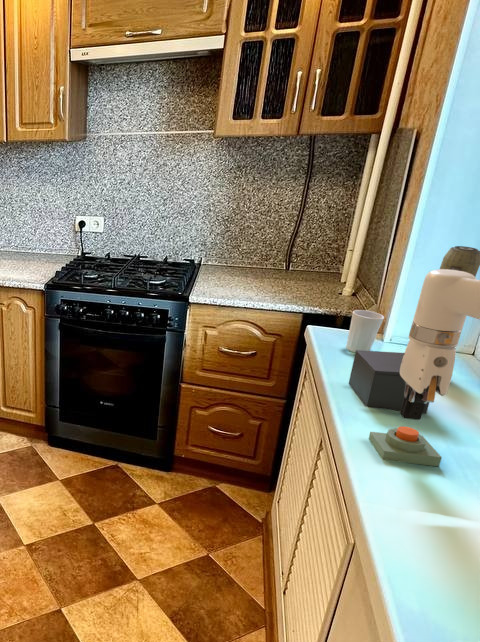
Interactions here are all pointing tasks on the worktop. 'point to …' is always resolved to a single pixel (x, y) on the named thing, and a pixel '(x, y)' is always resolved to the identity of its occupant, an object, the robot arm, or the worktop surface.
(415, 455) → the block
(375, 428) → the worktop surface
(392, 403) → the dark grey lidded box
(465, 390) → the worktop surface
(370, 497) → the worktop surface
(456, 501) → the worktop surface
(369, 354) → the box lid
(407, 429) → the button
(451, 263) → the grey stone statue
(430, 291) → the robot arm
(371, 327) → the cup
